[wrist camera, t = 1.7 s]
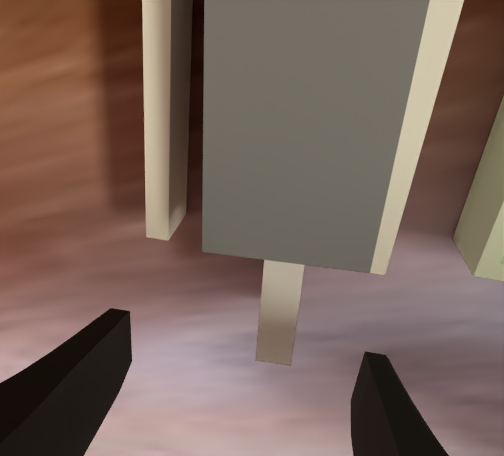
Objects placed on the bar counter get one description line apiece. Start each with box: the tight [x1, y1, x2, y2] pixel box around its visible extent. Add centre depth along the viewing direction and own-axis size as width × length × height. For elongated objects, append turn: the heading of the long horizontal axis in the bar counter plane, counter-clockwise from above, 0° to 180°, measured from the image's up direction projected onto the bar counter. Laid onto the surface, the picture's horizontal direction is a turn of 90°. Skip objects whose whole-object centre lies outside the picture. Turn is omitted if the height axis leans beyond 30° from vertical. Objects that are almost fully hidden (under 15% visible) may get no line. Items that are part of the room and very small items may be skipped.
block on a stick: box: [202, 0, 430, 366], centre depth 14 cm, size 12×5×4 cm, turn 176°
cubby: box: [142, 0, 464, 275], centre depth 13 cm, size 10×8×2 cm
